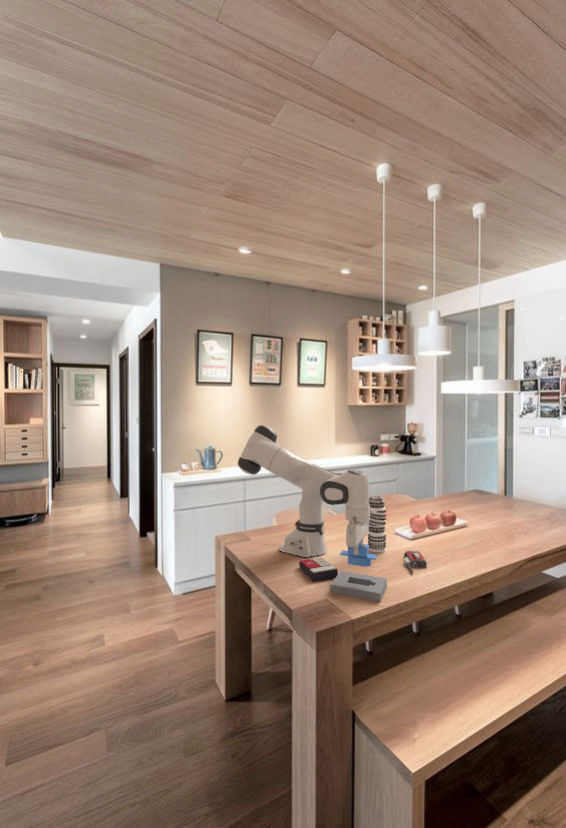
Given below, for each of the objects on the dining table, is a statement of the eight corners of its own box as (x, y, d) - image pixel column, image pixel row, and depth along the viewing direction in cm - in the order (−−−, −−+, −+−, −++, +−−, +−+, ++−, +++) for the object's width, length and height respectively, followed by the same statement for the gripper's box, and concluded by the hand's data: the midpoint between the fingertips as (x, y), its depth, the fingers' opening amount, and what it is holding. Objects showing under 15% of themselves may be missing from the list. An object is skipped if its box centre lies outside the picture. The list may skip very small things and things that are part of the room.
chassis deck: (330, 592, 143) (330, 584, 143) (340, 578, 155) (340, 570, 155) (380, 602, 135) (380, 593, 135) (387, 586, 147) (386, 578, 147)
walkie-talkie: (399, 556, 177) (409, 575, 157) (399, 546, 177) (409, 564, 157) (419, 556, 176) (432, 575, 156) (419, 547, 176) (432, 565, 156)
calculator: (322, 556, 170) (338, 567, 156) (322, 566, 170) (338, 578, 156) (298, 559, 166) (312, 571, 152) (298, 570, 166) (313, 582, 152)
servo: (340, 563, 146) (339, 541, 146) (342, 559, 149) (342, 538, 149) (375, 568, 140) (374, 546, 140) (377, 564, 144) (376, 543, 144)
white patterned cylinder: (387, 546, 189) (386, 495, 189) (386, 553, 180) (386, 499, 180) (367, 544, 192) (367, 494, 191) (366, 551, 183) (365, 498, 182)
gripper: (359, 522, 134) (359, 563, 134) (371, 508, 152) (372, 543, 153) (341, 521, 136) (341, 560, 137) (356, 507, 155) (356, 541, 155)
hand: (358, 551), depth 145 cm, fingers closed on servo, 3 cm apart
